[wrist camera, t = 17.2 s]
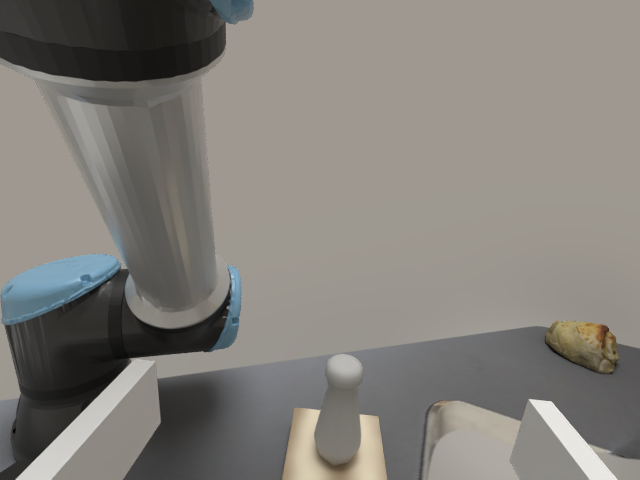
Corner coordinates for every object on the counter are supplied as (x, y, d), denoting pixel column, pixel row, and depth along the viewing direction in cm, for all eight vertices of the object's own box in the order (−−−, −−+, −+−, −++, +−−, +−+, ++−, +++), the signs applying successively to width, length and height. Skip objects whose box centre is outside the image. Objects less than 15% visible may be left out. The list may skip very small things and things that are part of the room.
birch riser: (278, 514, 35) (279, 494, 34) (293, 424, 46) (294, 407, 45) (387, 527, 34) (391, 507, 33) (375, 433, 46) (378, 416, 45)
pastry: (631, 382, 61) (646, 346, 59) (557, 364, 65) (568, 330, 63) (596, 343, 74) (607, 312, 72) (536, 330, 78) (544, 301, 76)
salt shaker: (343, 424, 43) (352, 342, 40) (368, 460, 38) (381, 370, 35) (305, 440, 40) (311, 353, 37) (326, 481, 36) (336, 385, 32)
